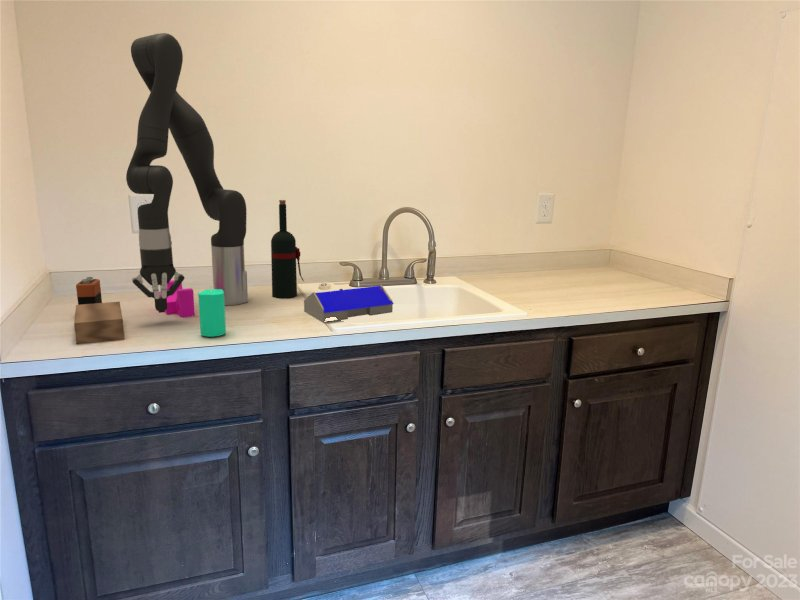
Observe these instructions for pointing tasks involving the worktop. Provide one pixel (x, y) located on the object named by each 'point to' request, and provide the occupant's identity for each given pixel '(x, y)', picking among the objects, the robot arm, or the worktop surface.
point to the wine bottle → (284, 259)
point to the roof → (348, 303)
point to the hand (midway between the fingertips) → (161, 311)
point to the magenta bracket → (180, 301)
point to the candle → (212, 312)
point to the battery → (89, 291)
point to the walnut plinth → (98, 322)
